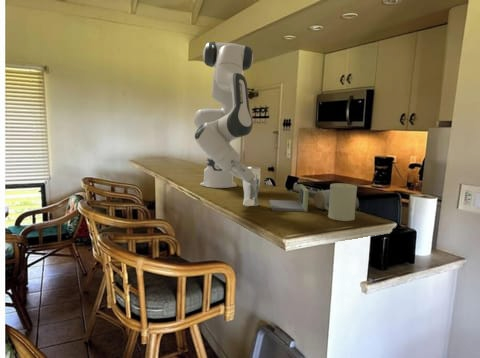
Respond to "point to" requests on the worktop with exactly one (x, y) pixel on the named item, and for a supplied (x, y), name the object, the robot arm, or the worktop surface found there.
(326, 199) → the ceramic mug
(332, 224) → the worktop surface
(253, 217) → the worktop surface
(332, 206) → the can
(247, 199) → the beer glass
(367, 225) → the worktop surface
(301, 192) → the chute mount
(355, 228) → the worktop surface
